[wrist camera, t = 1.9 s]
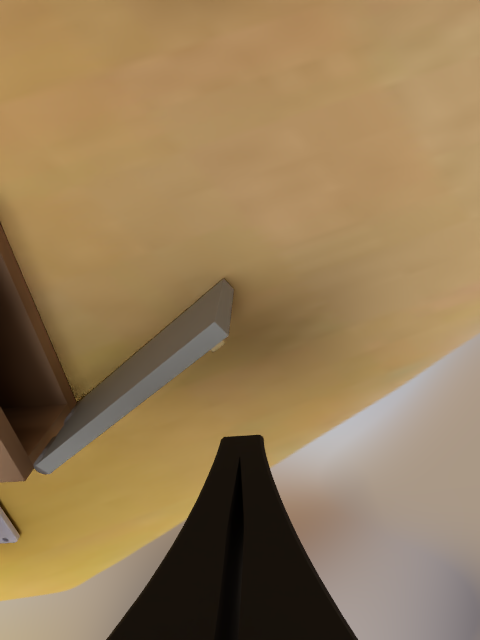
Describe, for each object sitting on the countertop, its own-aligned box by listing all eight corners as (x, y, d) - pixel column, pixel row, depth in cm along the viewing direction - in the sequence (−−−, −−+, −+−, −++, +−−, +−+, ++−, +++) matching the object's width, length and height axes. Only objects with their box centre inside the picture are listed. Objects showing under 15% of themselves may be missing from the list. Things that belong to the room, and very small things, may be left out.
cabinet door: (74, 403, 21) (27, 469, 16) (222, 276, 17) (212, 320, 12) (93, 416, 21) (52, 485, 17) (241, 297, 17) (238, 345, 13)
